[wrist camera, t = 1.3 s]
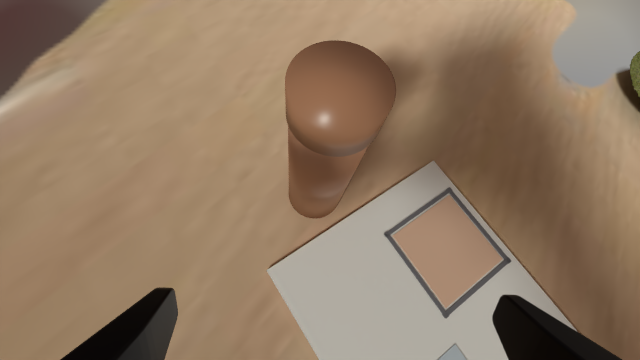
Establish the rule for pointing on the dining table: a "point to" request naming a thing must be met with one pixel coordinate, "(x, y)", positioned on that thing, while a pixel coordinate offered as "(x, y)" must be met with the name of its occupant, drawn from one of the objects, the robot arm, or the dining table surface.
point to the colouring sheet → (406, 279)
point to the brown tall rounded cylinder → (332, 119)
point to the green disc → (635, 72)
